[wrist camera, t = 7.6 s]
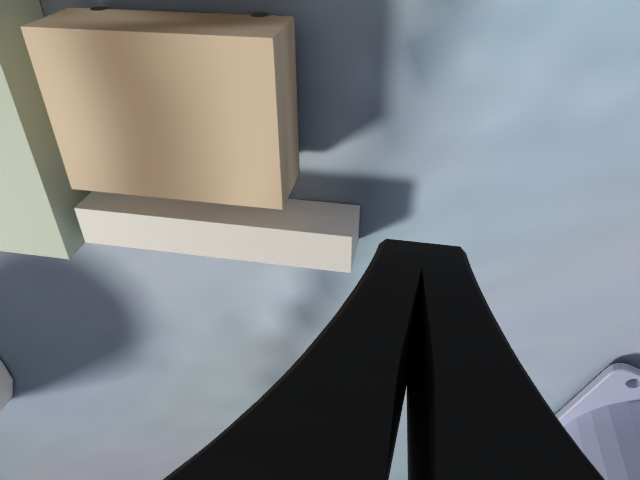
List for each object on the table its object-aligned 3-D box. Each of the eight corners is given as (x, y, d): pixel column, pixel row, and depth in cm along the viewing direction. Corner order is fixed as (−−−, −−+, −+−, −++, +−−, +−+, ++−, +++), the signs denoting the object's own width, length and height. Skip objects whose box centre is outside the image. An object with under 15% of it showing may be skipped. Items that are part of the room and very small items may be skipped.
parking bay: (373, -139, 13) (360, -139, 11) (358, 250, 20) (348, 293, 18) (-121, -134, 16) (-205, -133, 14) (16, 213, 23) (-26, 247, 21)
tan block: (300, 8, 16) (272, 36, 13) (304, 165, 19) (282, 211, 16) (82, 0, 17) (19, 24, 14) (118, 149, 20) (72, 190, 17)
